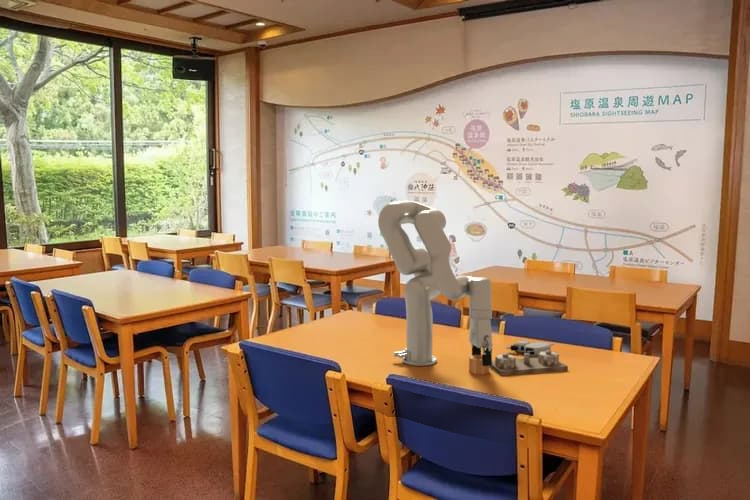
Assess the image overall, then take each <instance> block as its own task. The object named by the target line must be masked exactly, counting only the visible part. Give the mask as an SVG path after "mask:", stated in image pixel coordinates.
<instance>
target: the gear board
mask: <svg viewBox="0 0 750 500" xmlns="http://www.w3.org/2000/svg"><path fill="white" fill-rule="evenodd" d="M523 355H524V356H523V357H524V358H517V357H516V356H514V355H512V354H509V353H505V352H504V353H502V354H499V353H498V354H496V355H495V357H494V358H495V359H494V360H492V365H491V366H489V369H492V370H493V371H494V372H495V373H497V374H498V375H500V376H512V375H525V374H537V373H550V372H563V371H565V370H566V371H569V370H568V369H569V367H568V365H567V364H565V363H564V362H562V361H560V354H559V353H557V352H555V351H552V350H551V351H550V350H546V351H545V352H543V351H541V352H540V353H538V357H531V356H530V354H529V353H525V352H524V353H523ZM566 371H565V372H566Z"/></svg>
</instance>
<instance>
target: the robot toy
mask: <svg viewBox="0 0 750 500" xmlns="http://www.w3.org/2000/svg"><path fill="white" fill-rule="evenodd" d="M551 346H555V343H553V344H550V343H548V342H542V341H541V342H540V341H537V342H530V341H527V340H526V341H525V340H520V341H516V342H513V345H510V346H506V350H510V351H513V352H516V351H517V353H520V354H521V353H524V354H525V353H529V354H530V357H531V358H537V357H538V353H540V352H541V351H543V352H545V351H546V350H550V351H551V352H552V349H551Z"/></svg>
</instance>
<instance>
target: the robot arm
mask: <svg viewBox="0 0 750 500" xmlns="http://www.w3.org/2000/svg"><path fill="white" fill-rule="evenodd" d="M377 221H378V222H377V224H378V228H379V231H380V234H381V236H382V237H383V240H384V242H385V243H386V246H387V248H388V251H389V254H390V256H391V257H392V258H391V259H392V260H393V261H394V265H395V267H396V269H397V270H398V272H399V273H400V274H401V275H403V276H411V275H413V276H414V277H412V278H411V279H409V280H408V281H407V282H406V283H405V285H404V289H403V295H404V301H405V311H406V312H405V313H406V319H405V320H406V347H404V349H403V350H401V351H393V356H394V358H398V359H402V360H401V361H402V362H403V363H404V364H406V365H409V366H413V367H414V366H415V367H423V366H425V367H426V366H432V365H434V364H436V363H437V361H438V360H437V359H438V358H437V357H436V356H434V355H433V322H434V321H433V308H432V304H431V300H432V299H435V298H438V297H439V296H440V294H441V295H442V296H443V297H444V298H445V299H447V300H449V301H457V300H460V299H462V298H465V297H468V298H469V299H468V300H469V301H468V302H469V303H468V304H469V307H468V308H469V330H468V331H469V332H468V333H469V341H468V342H469V343H470V344H471V356H472V355H482V365H483V366H491V365H492V361H493V360H492V359H493V357H492V354H493V336H492V335H493V333H492V324H491V323H492V322H491V319H492V318H493V317H492V315H493V314H492V313H493V311H492V281H491V279H490V278H489V277H486V276H485V277H483V276H478V277H476V276H475V277H474V276H473V277H472V276H469V275H463V274H462V275H458V276H455V274H454V272H453V270H452V267H451V263H450V254H451V252H452V243H451V242H450V239H448V236H447V234H446V233H445V231H444V229H445V228H446V225H447V219H446V216H445V214H444V213H443V212H442V211H440V210H439V209H437V208H433V207H431V206H428V205H425V204H422V203H419V202H417V201H415V200H398V201H397V200H396V201H391V202H389V203H387V204H386V205H384V206H383V207H382V208H381V211H380V212H379V215H378V220H377ZM405 224H411V225H413V226H414V228H415V231H416V232H417V234H418V236H419V238H420V239H421V241H422V244H423V246H424V247H425V248H422V247H420V246H419V247H418V246H416V247H414V246H413V244H412V242H411V239H410V237H409V236H408V234H407V233H406V231H405V230H404V228H403V227H402V225H405Z"/></svg>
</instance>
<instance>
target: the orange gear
mask: <svg viewBox="0 0 750 500" xmlns="http://www.w3.org/2000/svg"><path fill="white" fill-rule="evenodd" d="M468 372H469V373H471V374H473V375H480V376H481V375H486V374H489V373H490V367H489V366H483V365H482V354H481V355H472V354H471V355H469V357H468Z"/></svg>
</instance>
